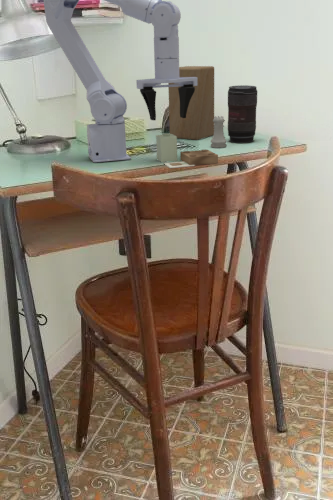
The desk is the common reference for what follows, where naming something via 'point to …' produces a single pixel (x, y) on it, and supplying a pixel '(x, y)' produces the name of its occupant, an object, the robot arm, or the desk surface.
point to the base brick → (199, 157)
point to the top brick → (166, 147)
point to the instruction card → (177, 164)
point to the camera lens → (242, 113)
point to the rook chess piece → (218, 133)
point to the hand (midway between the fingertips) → (168, 118)
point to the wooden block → (194, 105)
